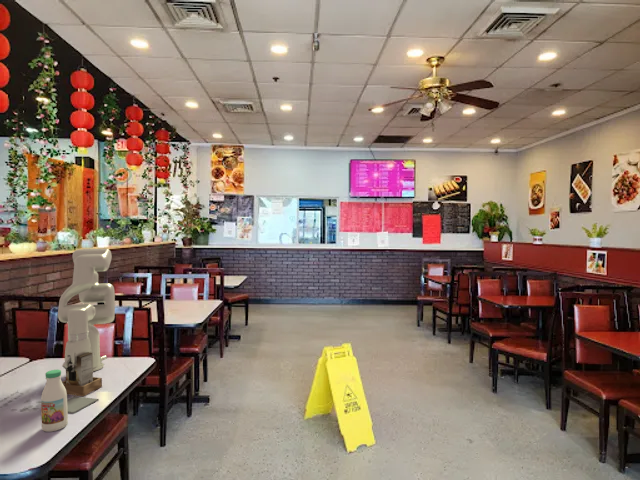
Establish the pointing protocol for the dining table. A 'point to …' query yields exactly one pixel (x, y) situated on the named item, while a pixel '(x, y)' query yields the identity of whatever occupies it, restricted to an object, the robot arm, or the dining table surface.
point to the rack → (83, 387)
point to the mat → (78, 403)
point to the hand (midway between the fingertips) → (79, 376)
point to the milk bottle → (54, 403)
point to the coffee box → (82, 370)
